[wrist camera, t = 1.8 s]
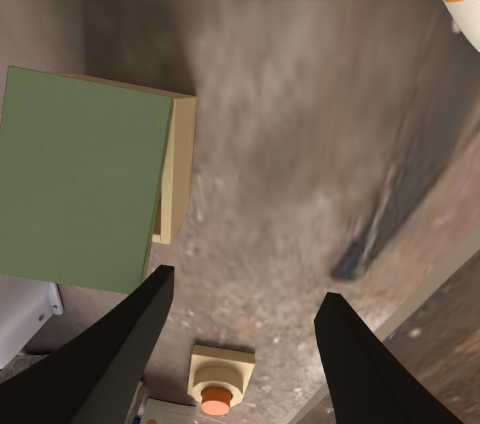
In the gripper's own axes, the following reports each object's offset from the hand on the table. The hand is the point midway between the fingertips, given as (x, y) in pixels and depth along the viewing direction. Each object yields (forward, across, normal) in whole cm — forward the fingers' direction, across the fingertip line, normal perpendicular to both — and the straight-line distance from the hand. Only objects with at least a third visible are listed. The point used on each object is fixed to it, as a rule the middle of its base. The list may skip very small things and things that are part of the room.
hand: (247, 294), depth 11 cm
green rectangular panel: (+3, +9, -3) cm, 10 cm away
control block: (+10, -1, +26) cm, 28 cm away
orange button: (+8, -1, +26) cm, 27 cm away
